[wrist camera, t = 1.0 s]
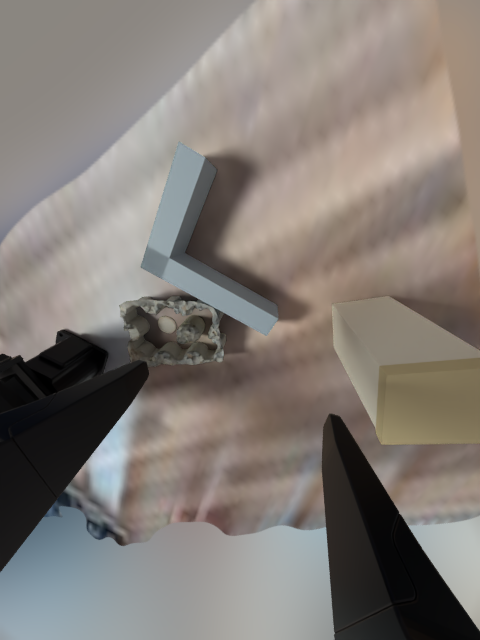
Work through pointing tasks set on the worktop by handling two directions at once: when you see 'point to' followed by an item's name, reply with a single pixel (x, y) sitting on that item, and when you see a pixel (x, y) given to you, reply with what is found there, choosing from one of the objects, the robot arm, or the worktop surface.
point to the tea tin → (409, 373)
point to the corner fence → (173, 238)
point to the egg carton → (185, 333)
